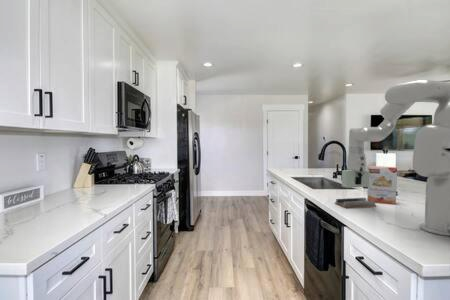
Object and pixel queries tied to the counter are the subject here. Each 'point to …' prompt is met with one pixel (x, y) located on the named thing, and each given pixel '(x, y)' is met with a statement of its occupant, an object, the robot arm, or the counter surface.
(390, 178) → the cracker box
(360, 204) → the door track
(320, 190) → the counter surface
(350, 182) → the pale green block
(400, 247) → the counter surface
